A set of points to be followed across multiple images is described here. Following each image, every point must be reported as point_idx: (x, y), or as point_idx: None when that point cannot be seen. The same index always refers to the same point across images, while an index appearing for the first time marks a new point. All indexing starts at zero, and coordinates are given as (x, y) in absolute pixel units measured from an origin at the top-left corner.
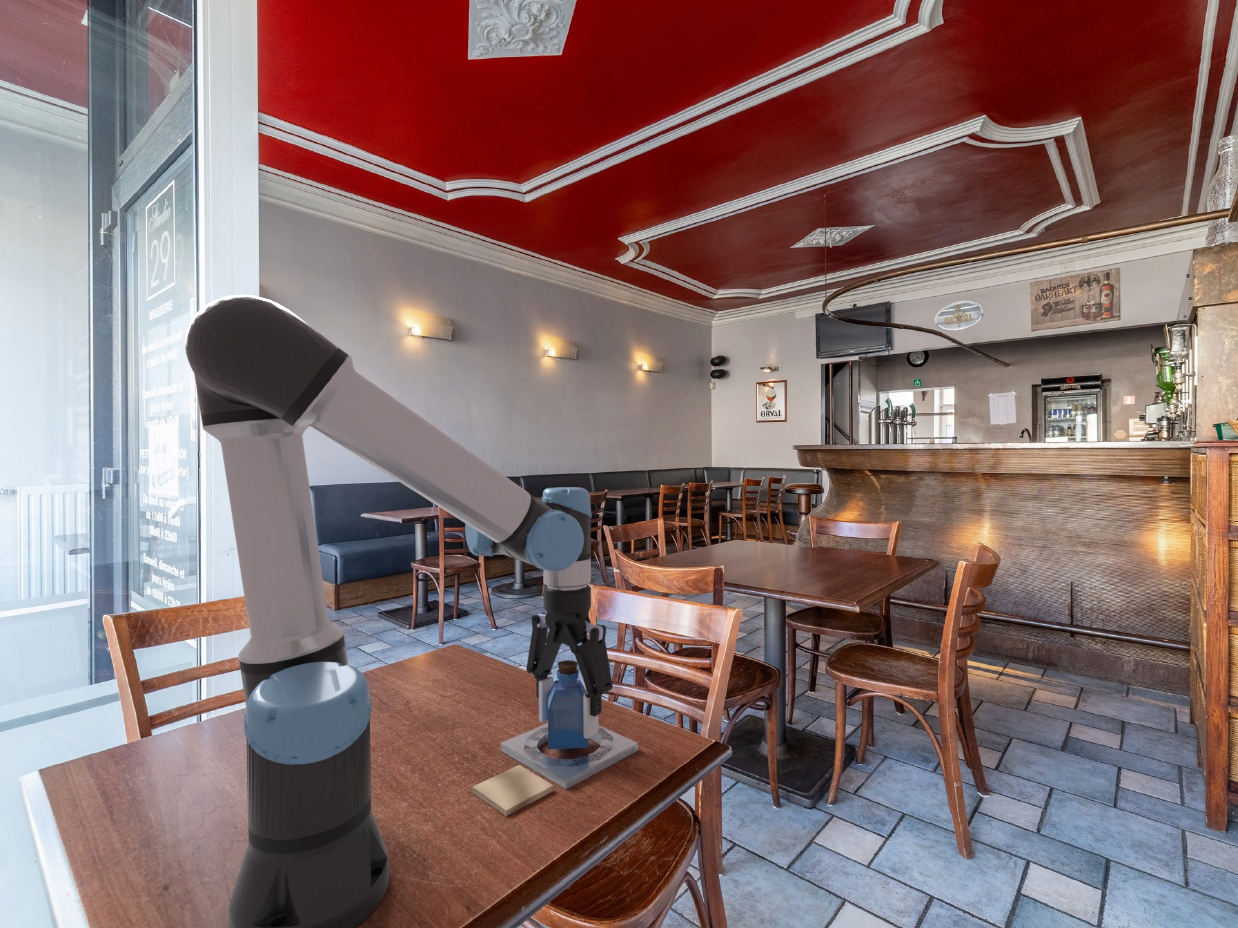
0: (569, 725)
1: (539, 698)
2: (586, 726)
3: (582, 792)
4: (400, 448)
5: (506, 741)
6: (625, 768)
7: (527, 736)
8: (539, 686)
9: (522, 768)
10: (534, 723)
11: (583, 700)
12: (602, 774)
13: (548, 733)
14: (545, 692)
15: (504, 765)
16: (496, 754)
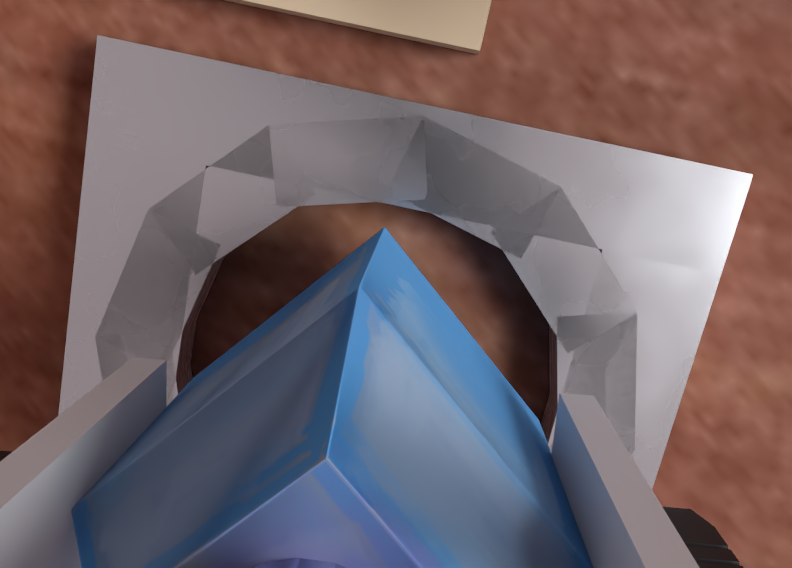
0: (243, 354)
1: (637, 479)
2: (105, 389)
3: (32, 66)
4: None
5: (728, 210)
6: (5, 376)
7: (644, 329)
8: (679, 552)
9: (432, 27)
10: (751, 528)
11: (15, 490)
12: (62, 267)
13: (375, 246)
14: (608, 550)
15: (592, 48)
16: (723, 121)
